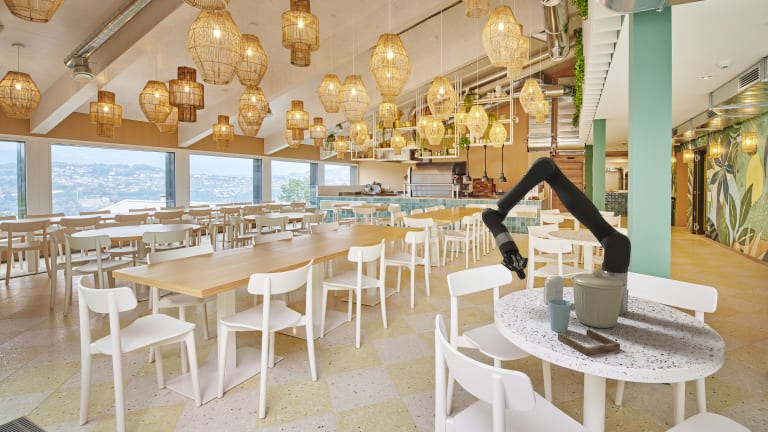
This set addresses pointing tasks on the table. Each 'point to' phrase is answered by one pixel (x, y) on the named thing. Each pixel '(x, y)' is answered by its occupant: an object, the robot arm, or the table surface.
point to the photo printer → (553, 288)
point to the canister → (597, 298)
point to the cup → (559, 314)
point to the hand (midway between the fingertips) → (523, 278)
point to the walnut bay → (607, 347)
